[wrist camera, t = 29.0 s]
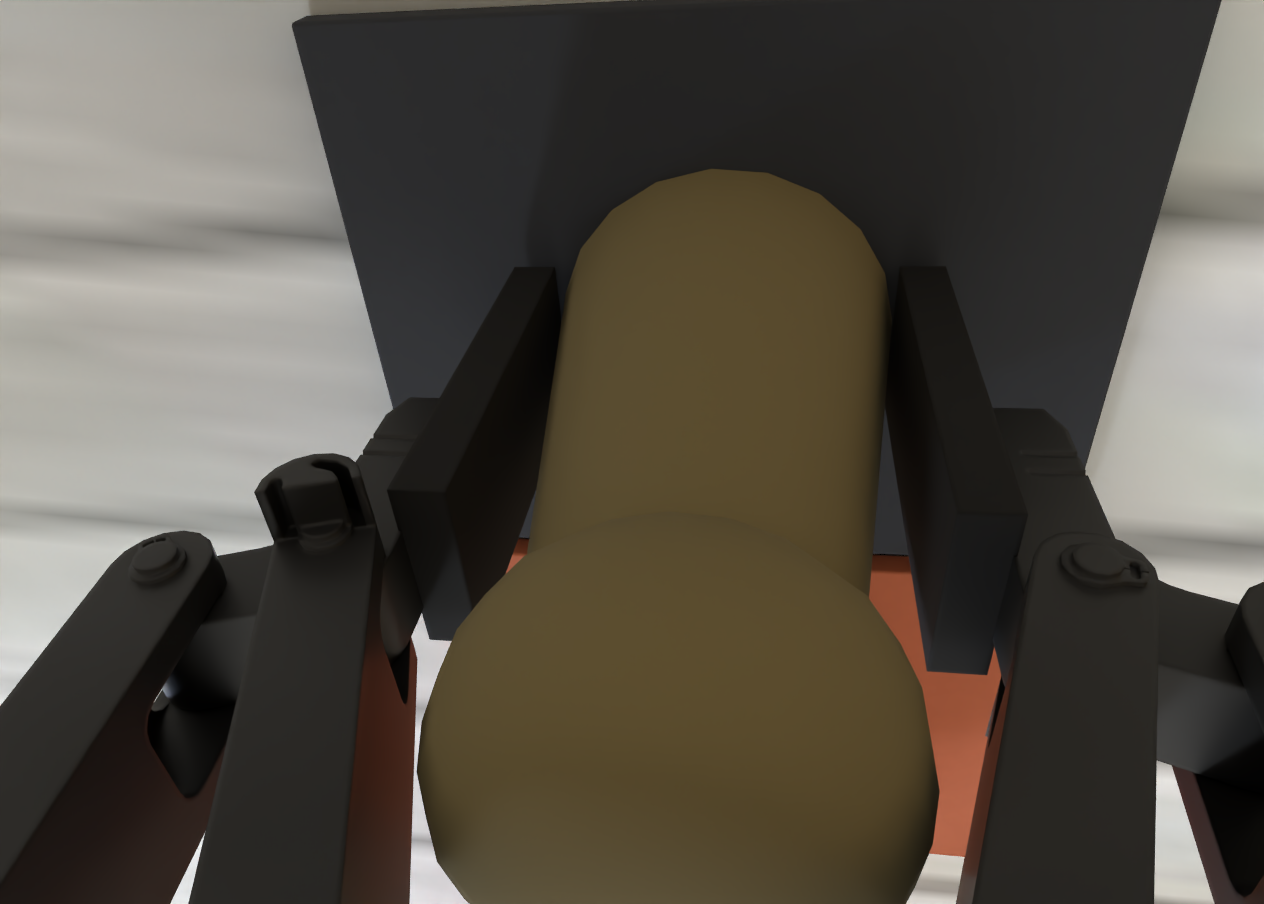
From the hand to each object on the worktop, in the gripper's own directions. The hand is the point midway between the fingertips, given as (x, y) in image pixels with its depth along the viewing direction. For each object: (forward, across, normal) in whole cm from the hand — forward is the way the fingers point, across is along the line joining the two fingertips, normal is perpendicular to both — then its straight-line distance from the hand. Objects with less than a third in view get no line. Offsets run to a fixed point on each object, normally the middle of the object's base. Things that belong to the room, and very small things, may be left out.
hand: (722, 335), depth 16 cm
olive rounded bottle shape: (0, 0, 0) cm, 0 cm away
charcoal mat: (+1, 0, 0) cm, 1 cm away
